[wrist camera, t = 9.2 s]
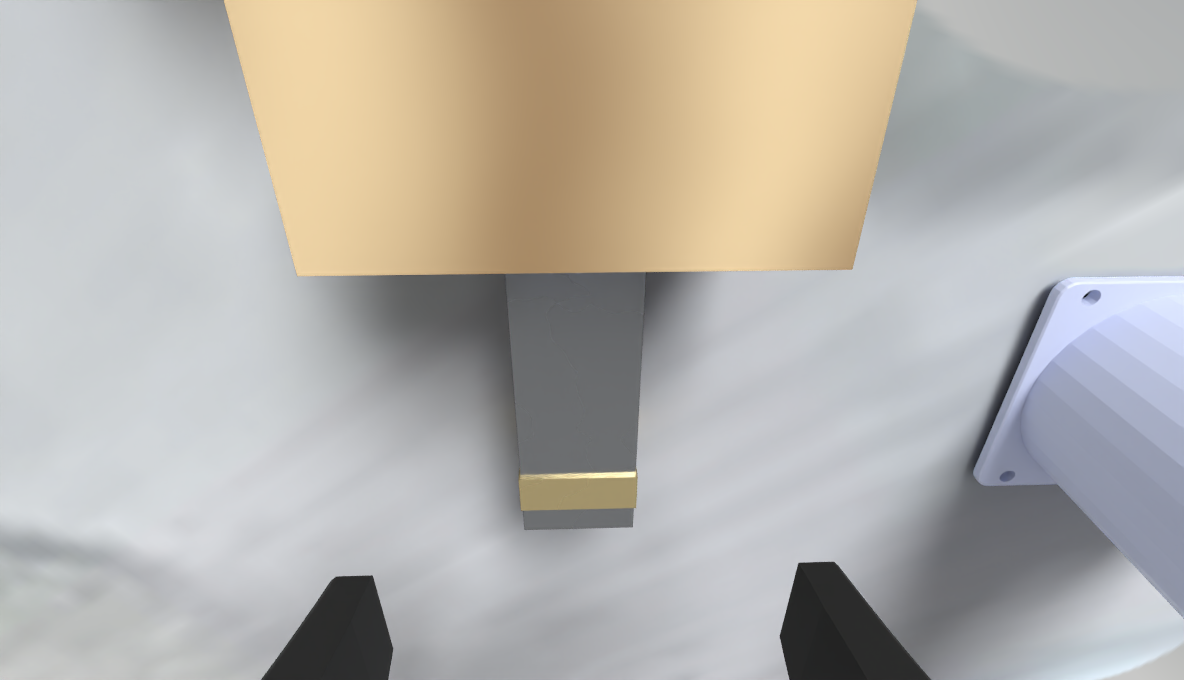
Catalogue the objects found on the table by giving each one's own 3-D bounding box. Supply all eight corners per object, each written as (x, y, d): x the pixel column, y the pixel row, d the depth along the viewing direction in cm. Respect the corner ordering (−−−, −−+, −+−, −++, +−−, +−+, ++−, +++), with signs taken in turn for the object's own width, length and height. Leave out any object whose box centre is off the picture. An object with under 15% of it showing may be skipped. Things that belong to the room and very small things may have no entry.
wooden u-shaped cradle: (777, -75, 14) (942, -103, 8) (746, 156, 16) (852, 269, 10) (361, -77, 13) (194, -109, 7) (398, 158, 16) (297, 276, 10)
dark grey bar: (648, -131, 13) (672, -158, 10) (625, 450, 21) (634, 529, 18) (490, -132, 13) (468, -160, 10) (528, 452, 21) (522, 532, 18)
